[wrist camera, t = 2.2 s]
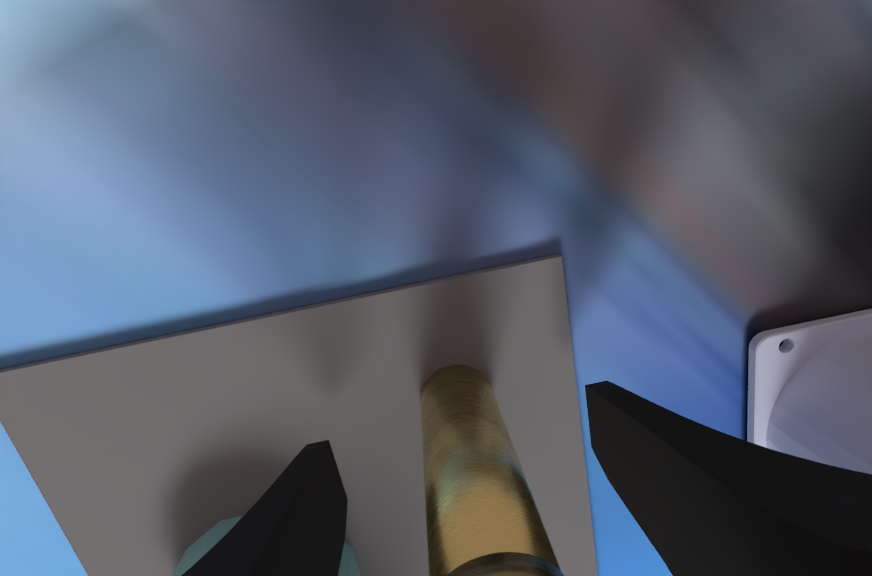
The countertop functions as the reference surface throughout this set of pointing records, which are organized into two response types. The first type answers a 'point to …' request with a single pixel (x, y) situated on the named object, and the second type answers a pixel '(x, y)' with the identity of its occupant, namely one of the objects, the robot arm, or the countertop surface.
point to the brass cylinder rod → (476, 484)
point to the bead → (348, 566)
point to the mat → (302, 419)
